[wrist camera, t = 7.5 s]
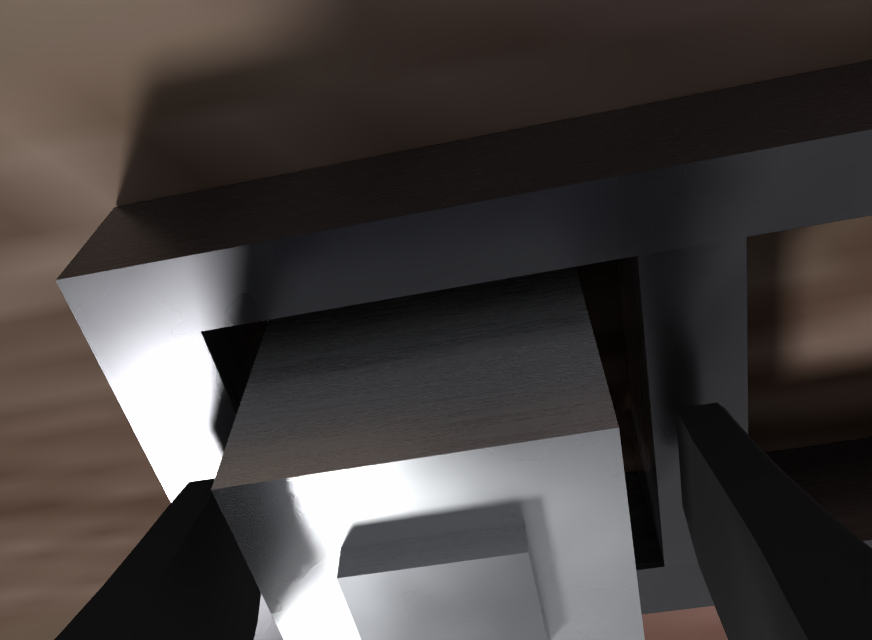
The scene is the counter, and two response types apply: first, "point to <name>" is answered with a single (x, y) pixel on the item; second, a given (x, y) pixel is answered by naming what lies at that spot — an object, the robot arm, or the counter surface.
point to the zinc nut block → (435, 470)
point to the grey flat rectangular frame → (499, 273)
